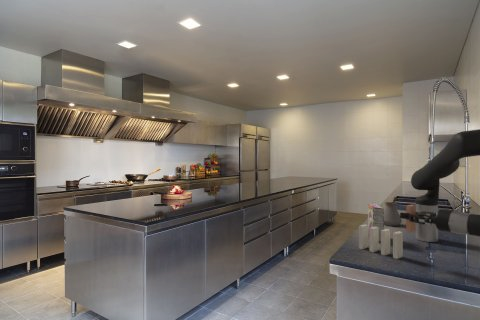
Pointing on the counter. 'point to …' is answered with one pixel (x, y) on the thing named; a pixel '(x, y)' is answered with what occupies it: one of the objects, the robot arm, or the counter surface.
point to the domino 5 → (409, 225)
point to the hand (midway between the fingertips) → (403, 214)
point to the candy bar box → (375, 218)
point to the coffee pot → (391, 214)
